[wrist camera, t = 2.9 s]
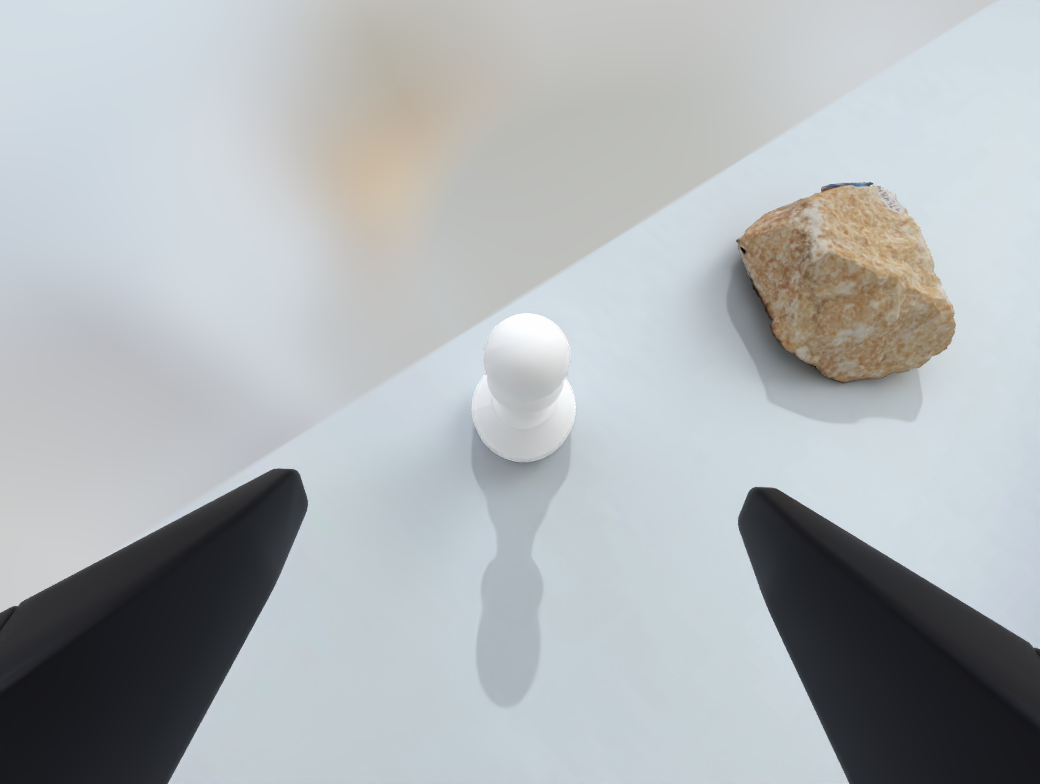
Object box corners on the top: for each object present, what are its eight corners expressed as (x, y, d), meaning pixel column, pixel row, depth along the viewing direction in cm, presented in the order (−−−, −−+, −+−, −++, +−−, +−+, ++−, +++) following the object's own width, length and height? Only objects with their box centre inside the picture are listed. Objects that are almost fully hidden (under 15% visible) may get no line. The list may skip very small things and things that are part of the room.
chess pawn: (565, 364, 21) (599, 259, 12) (578, 457, 19) (628, 415, 11) (471, 372, 20) (437, 272, 12) (477, 468, 19) (444, 433, 10)
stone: (840, 211, 24) (913, 144, 19) (925, 369, 21) (1033, 332, 16) (710, 234, 23) (754, 171, 19) (778, 399, 20) (849, 369, 16)
